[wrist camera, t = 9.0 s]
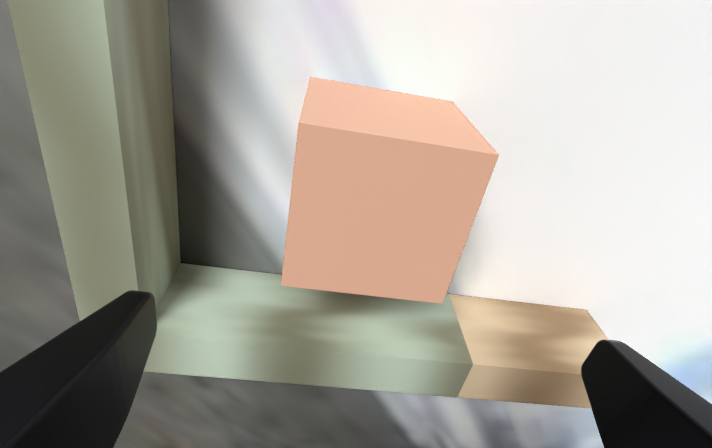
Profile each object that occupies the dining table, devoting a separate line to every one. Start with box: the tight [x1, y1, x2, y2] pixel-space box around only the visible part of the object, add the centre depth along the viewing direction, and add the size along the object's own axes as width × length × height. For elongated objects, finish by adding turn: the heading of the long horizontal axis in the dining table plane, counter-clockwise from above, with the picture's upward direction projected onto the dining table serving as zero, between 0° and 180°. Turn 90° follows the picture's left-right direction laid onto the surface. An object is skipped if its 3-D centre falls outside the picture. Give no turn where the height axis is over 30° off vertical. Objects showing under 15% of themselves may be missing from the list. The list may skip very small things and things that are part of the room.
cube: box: [281, 77, 499, 304], centre depth 13 cm, size 5×5×5 cm
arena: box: [7, 0, 608, 408], centre depth 13 cm, size 21×21×4 cm
